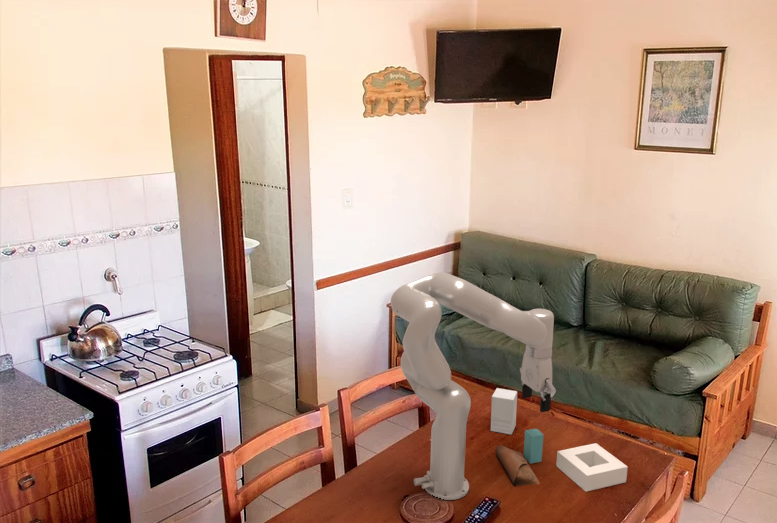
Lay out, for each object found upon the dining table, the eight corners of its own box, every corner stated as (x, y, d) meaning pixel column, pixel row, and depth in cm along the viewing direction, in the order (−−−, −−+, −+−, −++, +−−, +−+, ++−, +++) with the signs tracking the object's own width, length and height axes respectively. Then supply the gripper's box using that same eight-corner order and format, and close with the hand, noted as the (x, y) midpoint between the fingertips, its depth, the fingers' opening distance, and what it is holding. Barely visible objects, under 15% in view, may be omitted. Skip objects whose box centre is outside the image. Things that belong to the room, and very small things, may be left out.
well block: (585, 491, 179) (587, 475, 178) (556, 466, 192) (557, 451, 191) (625, 482, 184) (627, 466, 183) (594, 457, 197) (596, 443, 196)
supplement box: (516, 425, 217) (518, 390, 214) (511, 435, 210) (513, 399, 207) (494, 421, 219) (496, 387, 216) (489, 431, 213) (491, 395, 210)
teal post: (529, 463, 193) (531, 436, 191) (523, 456, 197) (525, 430, 195) (541, 461, 195) (543, 434, 192) (534, 454, 198) (536, 428, 196)
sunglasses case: (542, 484, 183) (532, 466, 181) (521, 496, 183) (511, 479, 181) (520, 451, 200) (511, 435, 198) (501, 463, 200) (491, 447, 198)
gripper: (512, 342, 194) (509, 394, 198) (544, 363, 178) (541, 419, 183) (533, 339, 197) (530, 390, 201) (567, 359, 181) (563, 414, 185)
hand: (535, 404), depth 192 cm, fingers open, 9 cm apart
